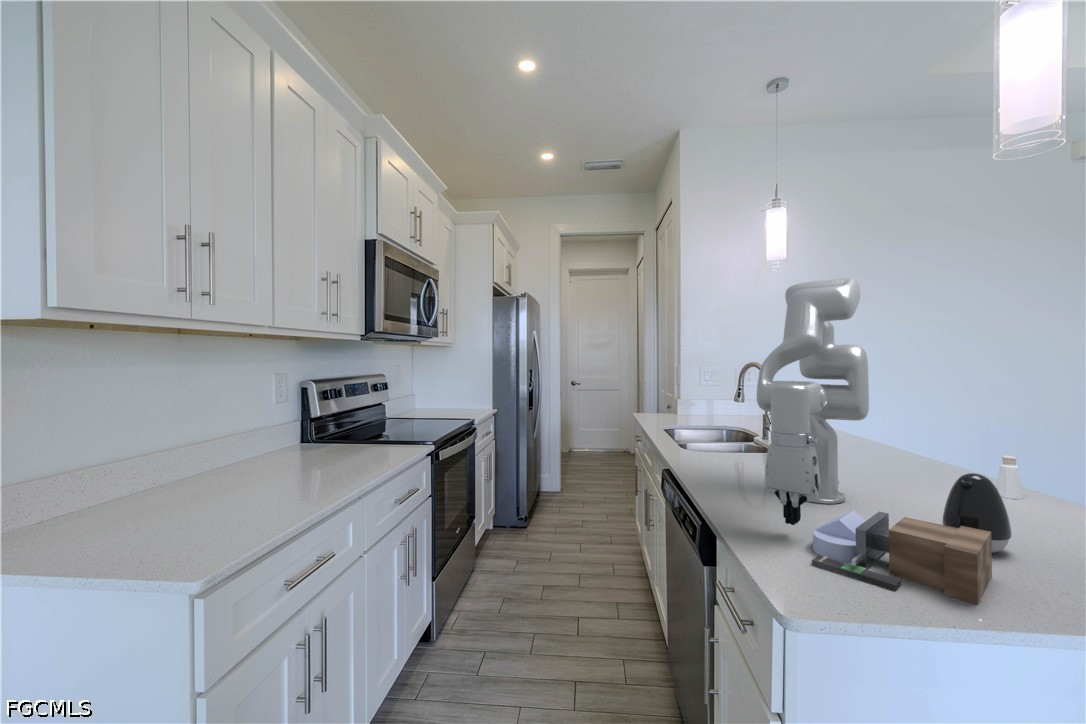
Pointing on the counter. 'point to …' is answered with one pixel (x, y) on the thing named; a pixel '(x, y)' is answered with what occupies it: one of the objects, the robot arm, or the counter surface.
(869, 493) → the counter surface
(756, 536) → the counter surface
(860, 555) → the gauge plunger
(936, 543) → the frame
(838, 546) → the wedge on round base
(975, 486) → the black egg-shaped piece
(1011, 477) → the salt shaker
